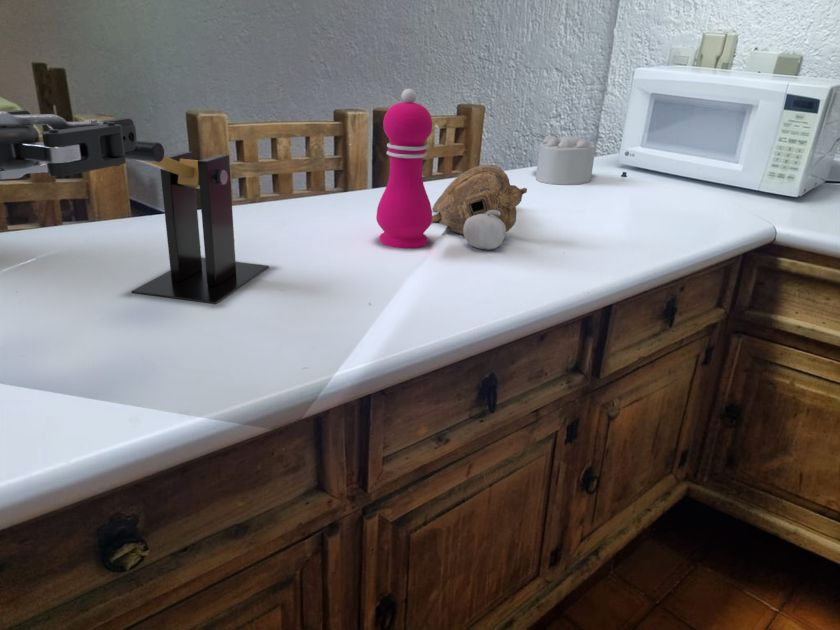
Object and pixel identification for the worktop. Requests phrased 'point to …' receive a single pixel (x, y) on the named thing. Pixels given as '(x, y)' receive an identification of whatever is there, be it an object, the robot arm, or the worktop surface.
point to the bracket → (187, 268)
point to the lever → (166, 162)
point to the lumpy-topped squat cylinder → (565, 161)
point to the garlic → (484, 230)
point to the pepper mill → (405, 176)
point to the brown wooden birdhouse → (478, 198)
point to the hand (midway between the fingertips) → (78, 129)
